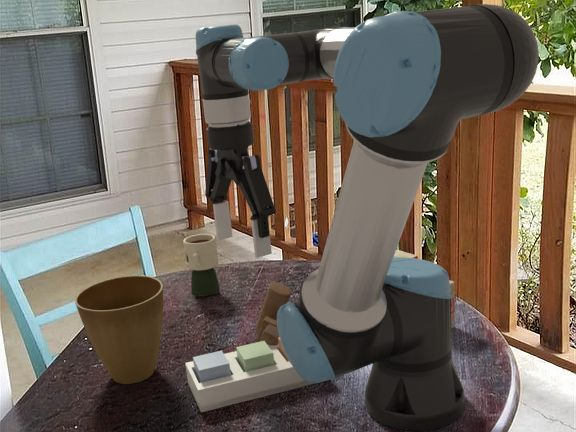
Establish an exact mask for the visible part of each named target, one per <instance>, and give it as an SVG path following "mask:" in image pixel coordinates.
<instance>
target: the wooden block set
mask: <svg viewBox="0 0 576 432" xmlns="http://www.w3.org/2000/svg"><path fill="white" fill-rule="evenodd" d="M291 296H292V291H291V289H290V287H288V286H287V285H284V284H282V283H279V282H273V283H271V284H269V287H268V289H267V292H266V296H265V298H264V301H263V305H262V307H261V310H260V313H259V315H258V319H257V321H256V324H255V331H256V333H257V337H256V340H255V343H257V342H261V341H265V342H266V344H267V345H277V344H278V337H279V333H278V328H277V312H278V310H279V308H280V307H281V306H282V305H285V304H287V302H289V301H290V297H291Z"/></svg>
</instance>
